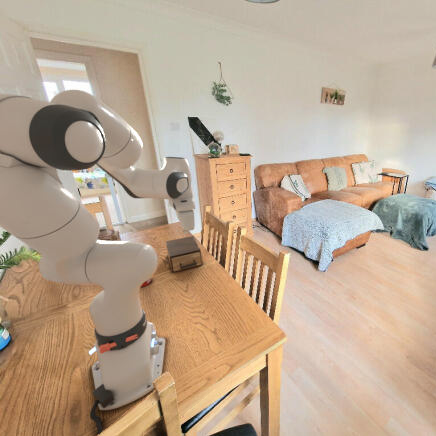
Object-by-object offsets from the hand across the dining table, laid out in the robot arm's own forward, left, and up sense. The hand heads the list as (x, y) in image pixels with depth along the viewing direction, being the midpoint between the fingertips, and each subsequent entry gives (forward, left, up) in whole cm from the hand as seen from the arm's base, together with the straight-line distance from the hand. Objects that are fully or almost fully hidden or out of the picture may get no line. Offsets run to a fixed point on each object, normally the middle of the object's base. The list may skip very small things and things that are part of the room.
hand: (186, 232), depth 96 cm
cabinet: (+21, 0, -25) cm, 33 cm away
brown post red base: (+10, +19, -25) cm, 33 cm away
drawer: (+17, 0, -24) cm, 30 cm away
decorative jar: (+35, +32, -25) cm, 53 cm away
